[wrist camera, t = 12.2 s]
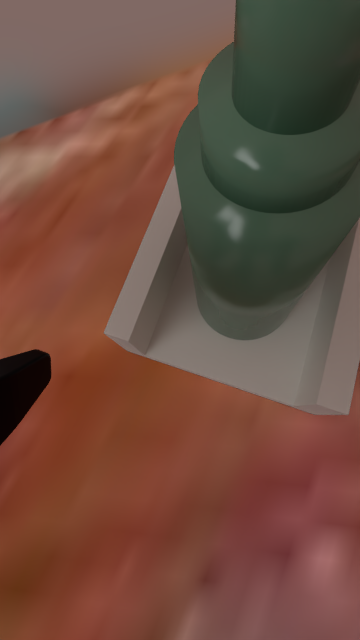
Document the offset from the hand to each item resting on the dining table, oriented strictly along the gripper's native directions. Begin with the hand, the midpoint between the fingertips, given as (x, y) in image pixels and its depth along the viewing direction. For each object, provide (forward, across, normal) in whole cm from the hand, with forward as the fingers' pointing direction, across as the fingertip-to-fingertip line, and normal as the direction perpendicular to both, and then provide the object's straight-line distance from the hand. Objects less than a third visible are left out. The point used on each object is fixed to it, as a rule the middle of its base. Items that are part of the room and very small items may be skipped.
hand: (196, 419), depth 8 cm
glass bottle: (+10, 0, +1) cm, 10 cm away
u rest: (+11, 0, +1) cm, 11 cm away
